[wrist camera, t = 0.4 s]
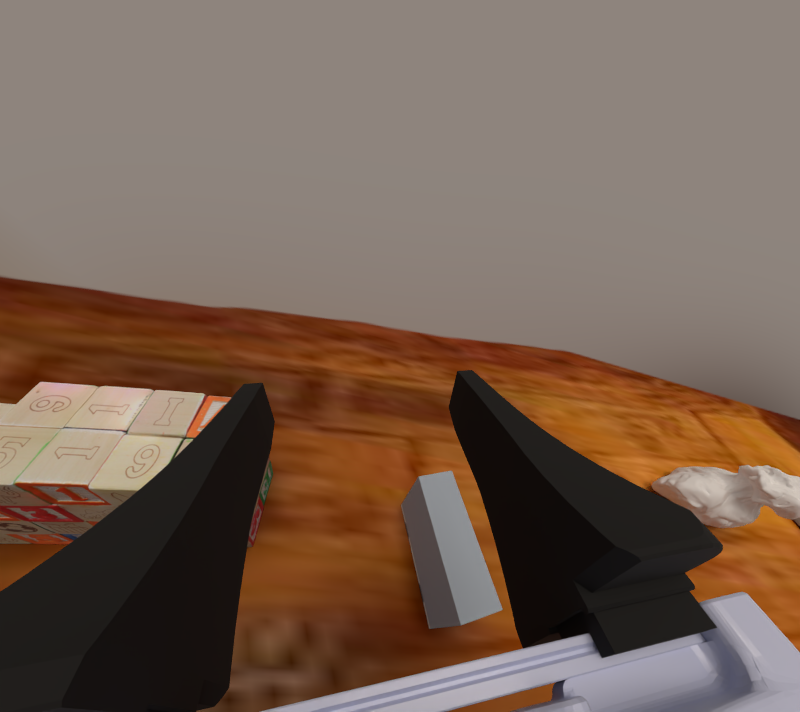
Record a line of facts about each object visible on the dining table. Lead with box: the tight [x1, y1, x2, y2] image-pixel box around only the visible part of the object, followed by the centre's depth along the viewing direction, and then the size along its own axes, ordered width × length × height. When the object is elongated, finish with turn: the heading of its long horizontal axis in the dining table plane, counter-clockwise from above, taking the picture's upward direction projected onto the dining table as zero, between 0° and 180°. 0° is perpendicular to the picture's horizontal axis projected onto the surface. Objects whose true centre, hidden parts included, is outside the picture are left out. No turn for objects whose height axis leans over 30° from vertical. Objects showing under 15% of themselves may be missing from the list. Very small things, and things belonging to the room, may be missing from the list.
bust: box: [652, 465, 800, 528], centre depth 31 cm, size 12×8×11 cm
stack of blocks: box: [0, 382, 273, 547], centre depth 20 cm, size 21×6×12 cm, turn 92°
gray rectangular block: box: [401, 471, 503, 629], centre depth 23 cm, size 9×3×7 cm, turn 14°
